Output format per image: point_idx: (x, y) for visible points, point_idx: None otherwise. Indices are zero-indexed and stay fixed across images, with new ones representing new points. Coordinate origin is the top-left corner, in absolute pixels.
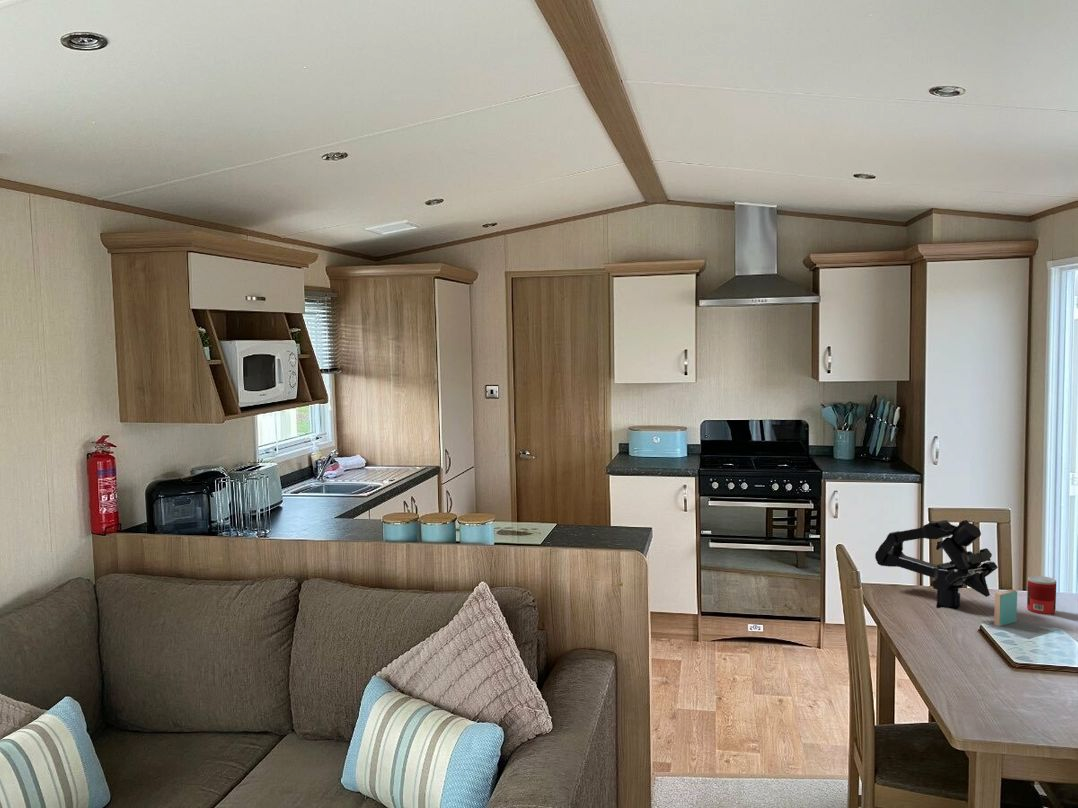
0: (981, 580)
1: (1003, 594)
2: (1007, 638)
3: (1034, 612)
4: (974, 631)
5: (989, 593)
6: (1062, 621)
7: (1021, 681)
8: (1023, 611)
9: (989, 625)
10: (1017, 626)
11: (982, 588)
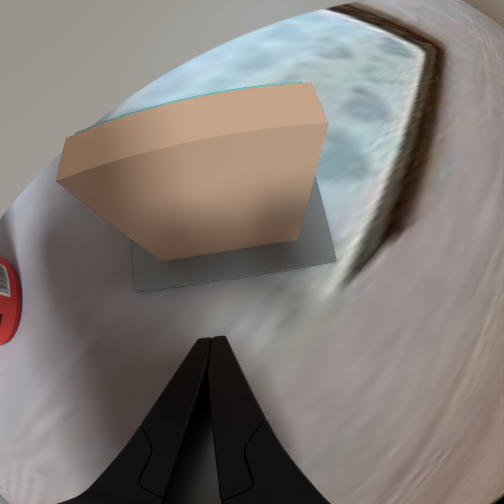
0: (172, 499)
1: (258, 90)
2: (349, 125)
3: (18, 295)
4: (424, 224)
5: (194, 345)
6: (25, 204)
7: (445, 29)
8: (28, 339)
9: (328, 239)
10: None
11: (253, 399)
